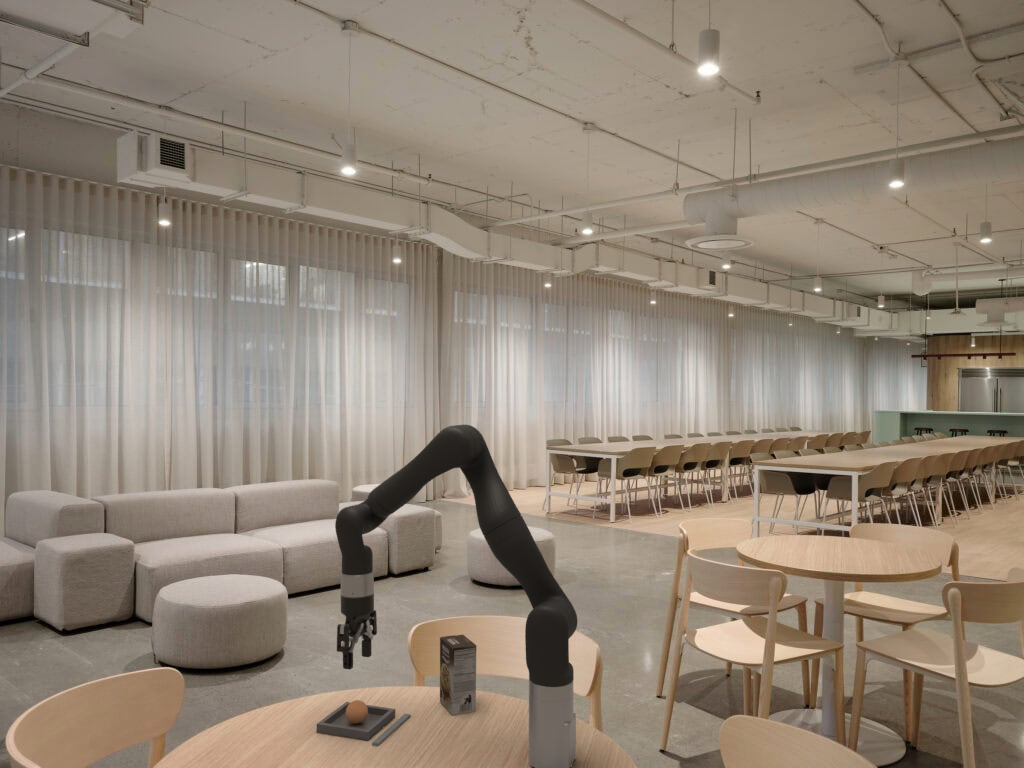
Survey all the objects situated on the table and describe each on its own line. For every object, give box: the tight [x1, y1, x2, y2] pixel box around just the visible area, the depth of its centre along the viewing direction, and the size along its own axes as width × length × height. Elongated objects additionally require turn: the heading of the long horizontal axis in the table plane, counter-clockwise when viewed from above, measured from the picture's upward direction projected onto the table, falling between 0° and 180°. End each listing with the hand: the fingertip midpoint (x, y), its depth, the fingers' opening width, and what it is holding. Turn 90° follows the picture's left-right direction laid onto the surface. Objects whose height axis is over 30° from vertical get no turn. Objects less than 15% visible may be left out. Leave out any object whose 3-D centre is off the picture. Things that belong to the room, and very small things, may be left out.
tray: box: [316, 701, 396, 742], centre depth 177 cm, size 13×13×2 cm
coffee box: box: [439, 634, 477, 716], centre depth 188 cm, size 9×6×16 cm
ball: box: [346, 699, 368, 724], centre depth 177 cm, size 5×5×5 cm
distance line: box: [371, 713, 411, 747], centre depth 174 cm, size 2×16×1 cm, turn 162°
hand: (357, 662), depth 177 cm, fingers open, 8 cm apart
